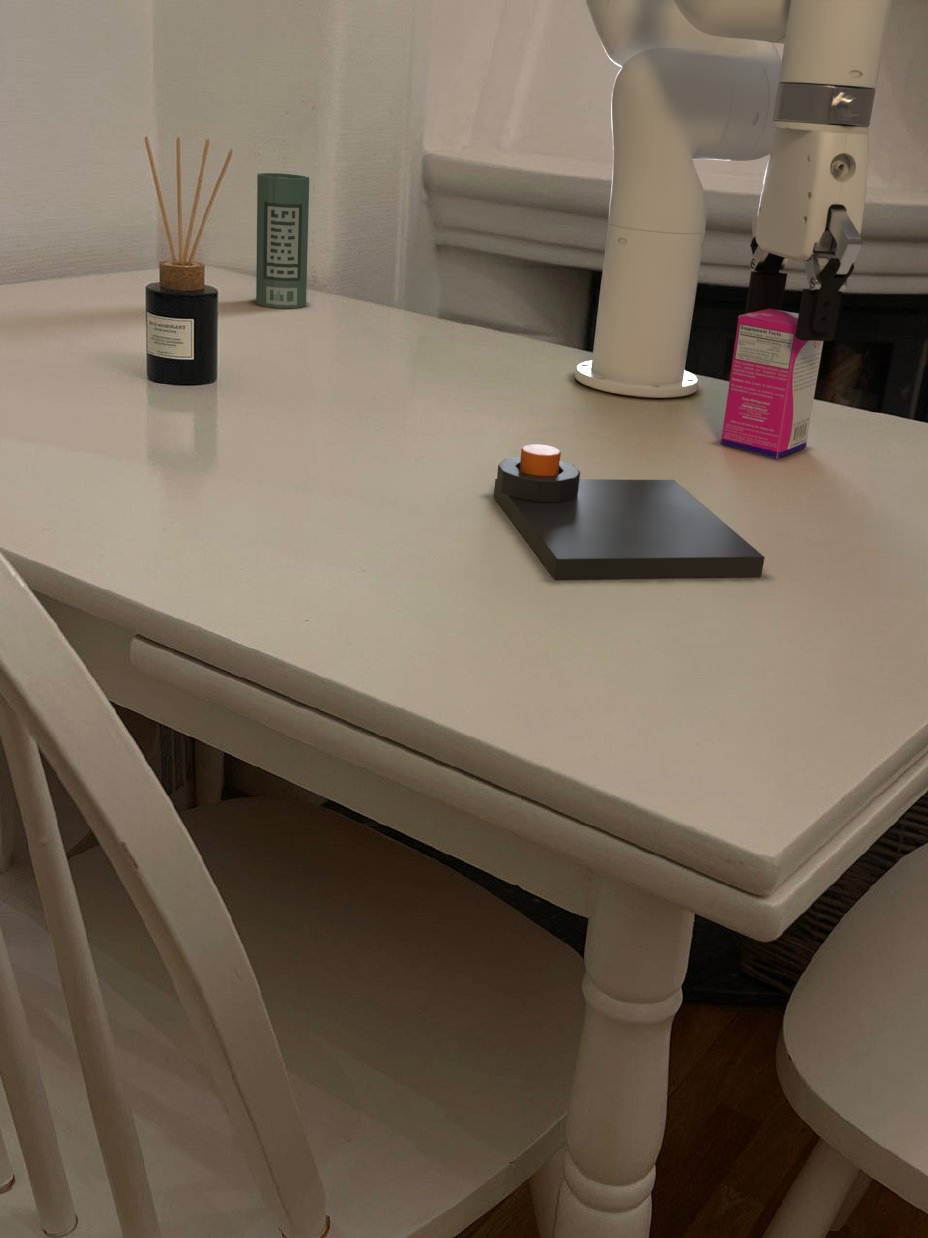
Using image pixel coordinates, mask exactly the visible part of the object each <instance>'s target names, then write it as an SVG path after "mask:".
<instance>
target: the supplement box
mask: <svg viewBox="0 0 928 1238" xmlns="http://www.w3.org/2000/svg"><path fill="white" fill-rule="evenodd" d="M798 316H799V313H797V312H790V311H785V310H775V309H766V310H761V311H757V312H752V313H748V314H745V313H744V314H739V315H738V318H737V326H736V334H735V341H734V348H733V353H732V362H731V369H730V375H729V383H728V391H727V397H726V404H725V410H724V418H723V419H724V420H723V426H722V433H721V438H720V439H721V440H720V444H721V445H723V446H727V447H731V448H734V449H737V450H738V449H739V450H742V451H746V452H750V453H753V454H758V455H760V456H765V457H768V458H772V459H776V460H778V459H781V458H783V457H786V456H788V455H790V454H793V453H795V452H798V451H800V450H803V449H806V448H807V442H808V435H809V429H810V423H811V418H812V411H813V405H814V399H815V394H816V388H817V381H818V376H819V370H820V364H821V357H822V351H823V345H824V341H806V340H799V339H797V338H796V336H795V334H796V328H797V322H798Z"/></svg>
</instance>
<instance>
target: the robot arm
mask: <svg viewBox="0 0 928 1238" xmlns="http://www.w3.org/2000/svg"><path fill="white" fill-rule="evenodd" d="M584 1H585V3H586V6H587V9H588V12H589V14H590V17H591V21H592V22H593V26H594V28H595V31H596V33H597V36H598V39H599V41H600V43H601V46H602V47H603V50H604V52H605V54H606V56H607V57H608V58H609V59H610V61H611V62H612V63H614V64H615V65H617V66H618V67H620V69H619V71H618V73H617V75H616V77H615V80H614V82H613V85H612V91H611V99H610V100H611V101H610V107H611V109H610V115H611V132H612V153H613V154H612V178H611V189H610V199H609V209H608V215H607V216H608V218H607V231H606V239H605V247H604V256H603V257H604V258H603V264H602V273H601V280H600V290H599V297H598V307H597V315H596V323H595V331H594V332H595V333H594V339H593V340H594V341H593V349H592V358H591V360H585V361H583V362H580V363H578V364H577V365H576V366H575V371H574V377H575V379H576V381H578V382H579V383H580V384H582V385H585V386H587V387H588V388H591V389H595V390H599V391H602V392H606V393H611V394H616V395H621V396H630V397H636V398H637V397H638V398H652V399H653V398H654V399H663V398H664V399H669V398H670V399H672V398H681V397H687V396H690V395H692V394H694V393H695V392H697V390H698V388H699V387H698V386H699V379H698V377H697V376H696V375H695V374H693V373H692V372H690V371H687V370H686V363H687V357H688V349H689V342H690V335H691V329H692V323H693V315H694V308H695V302H696V297H697V296H696V295H697V287H698V281H699V274H700V269H701V262H702V255H703V249H704V241H705V235H706V226H707V219H708V203H707V196H706V192H705V190H704V186H703V184H702V180H701V179H700V176H699V174H698V171H697V169H696V165H695V163H694V160H714V161H729V162H734V161H735V162H748V161H755V160H760V159H763V158H765V157H767V156H768V159H767V164H766V168H765V172H764V177H763V183H762V189H761V193H760V199H759V205H758V210H757V211H756V212H755V213H754V214H753V215H752V217H751V232H752V239H751V241H750V242H751V243H749V247H750V248H751V249H750V250H751V253H752V257H751V258H750V261H749V269H750V277H749V284H748V288H747V296H746V303H745V308H744V309H745V310H744V314H748V313H752V312H757V311H761V310H766V309H775V310H781V311H783V303H784V297H785V293H786V292H785V291H786V286H787V278H788V273H786V272H783V271H784V269H785V268H786V266H787V264H788V263H789V261H790V260H793V261H796V262H801V263H802V262H803V263H804V269H805V274H806V279H807V284H808V288H802V292H801V298H800V304H799V311H798V314H799V316H798V322H797V328H796V334H795V336H796V338H797V339H799V340H806V341H823V342H831V341H833V340H834V338H835V333H836V328H837V323H838V317H839V312H840V306H841V301H842V294H843V292H845V291H846V289H847V286H848V279H849V277H850V276H851V275H852V274H853V271H854V270H855V262H856V260H857V257H858V255H859V253H860V251H861V250H862V246H863V237H862V236H861V233H862V227H863V220H864V211H865V206H866V205H865V204H866V197H867V187H868V186H867V185H868V175H869V161H870V160H869V158H870V157H869V156H870V141H869V137H870V136H869V131H870V130H869V129H870V123H871V119H872V113H873V108H874V101H875V97H876V89H877V85H878V81H879V75H880V68H881V62H882V57H883V51H884V45H885V39H886V35H887V29H888V24H889V18H890V12H891V7H892V1H893V0H584ZM776 44H781V45H783V50H782V56H780V54H779V51H778V49H777V47H776ZM820 266H823V268H822V270H821V267H820Z"/></svg>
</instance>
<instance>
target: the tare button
mask: <svg viewBox="0 0 928 1238" xmlns="http://www.w3.org/2000/svg"><path fill="white" fill-rule="evenodd" d="M561 454H562V452H561V450H560V449H559V448H557V447H555V446H552V445H547V444H540V443H539V444H536V443H533V444H525V445H523V446H521V449H520V457H521V459H520V469H519V471H522V472H524V473H527V474H532V475H538V476H553V475H558V474H559V465H560V461H561V456H562V455H561Z"/></svg>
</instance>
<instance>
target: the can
mask: <svg viewBox="0 0 928 1238" xmlns="http://www.w3.org/2000/svg"><path fill="white" fill-rule="evenodd" d="M256 177H257V181H256V188H257V189H256V272H255V273H256V276H255V277H256V279H255V281H256V282H255V283H256V287H255V290H256V292H255V297H256V298H255V305H259V306H262V307H266V308H273V309H297V308H298V309H300V308H304V307H307V289H308V287H307V286H308V252H309V251H308V246H309V209H310V208H309V206H310V205H309V203H310V176H306V175H301V174H292V173H278V172H274V173H273V172H260V173H259V172H258V173H257V175H256Z"/></svg>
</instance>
